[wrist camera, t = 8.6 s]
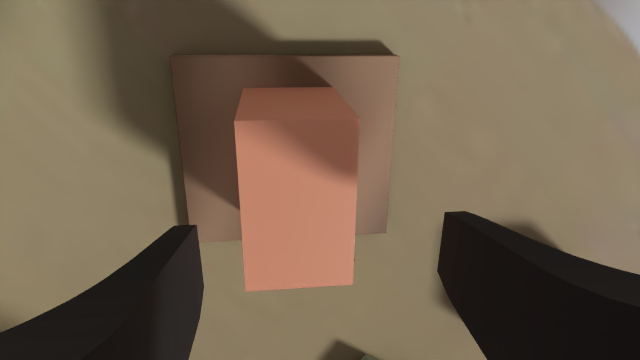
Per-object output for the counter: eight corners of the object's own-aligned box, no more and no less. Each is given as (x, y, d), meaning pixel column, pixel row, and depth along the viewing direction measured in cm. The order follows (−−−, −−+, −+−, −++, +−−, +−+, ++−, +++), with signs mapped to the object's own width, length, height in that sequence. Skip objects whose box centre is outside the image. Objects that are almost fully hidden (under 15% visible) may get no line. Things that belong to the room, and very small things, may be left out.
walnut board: (193, 234, 22) (191, 242, 21) (173, 54, 19) (169, 56, 18) (382, 225, 23) (385, 233, 22) (394, 54, 20) (399, 56, 19)
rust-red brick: (250, 217, 21) (245, 291, 16) (243, 88, 19) (234, 120, 13) (330, 214, 22) (352, 284, 16) (332, 86, 19) (360, 118, 14)
